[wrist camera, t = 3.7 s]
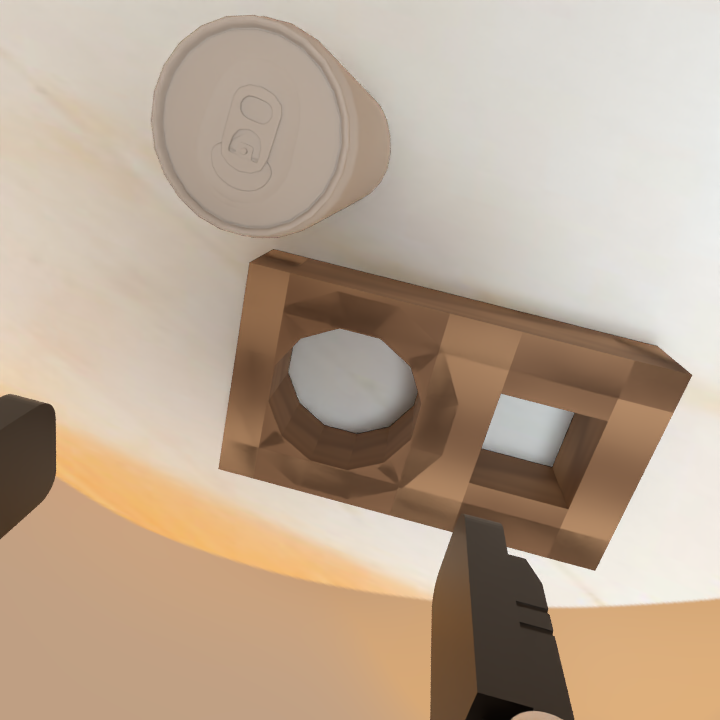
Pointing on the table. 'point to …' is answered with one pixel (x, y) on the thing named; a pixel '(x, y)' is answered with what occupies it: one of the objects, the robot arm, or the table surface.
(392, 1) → the table surface
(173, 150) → the beverage can
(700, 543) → the table surface
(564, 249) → the table surface
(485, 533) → the robot arm
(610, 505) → the walnut bore block
